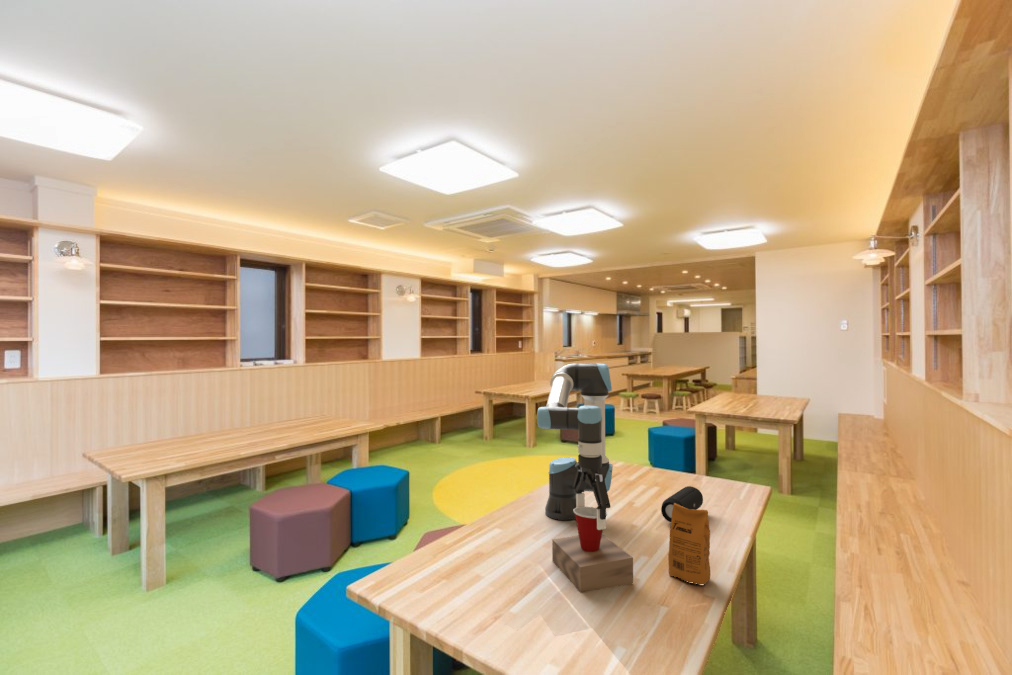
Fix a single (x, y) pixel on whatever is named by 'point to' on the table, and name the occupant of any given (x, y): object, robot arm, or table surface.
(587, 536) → the plastic cup
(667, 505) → the portable speaker
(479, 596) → the table surface
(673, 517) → the coffee package
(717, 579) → the table surface
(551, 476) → the robot arm
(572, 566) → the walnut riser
